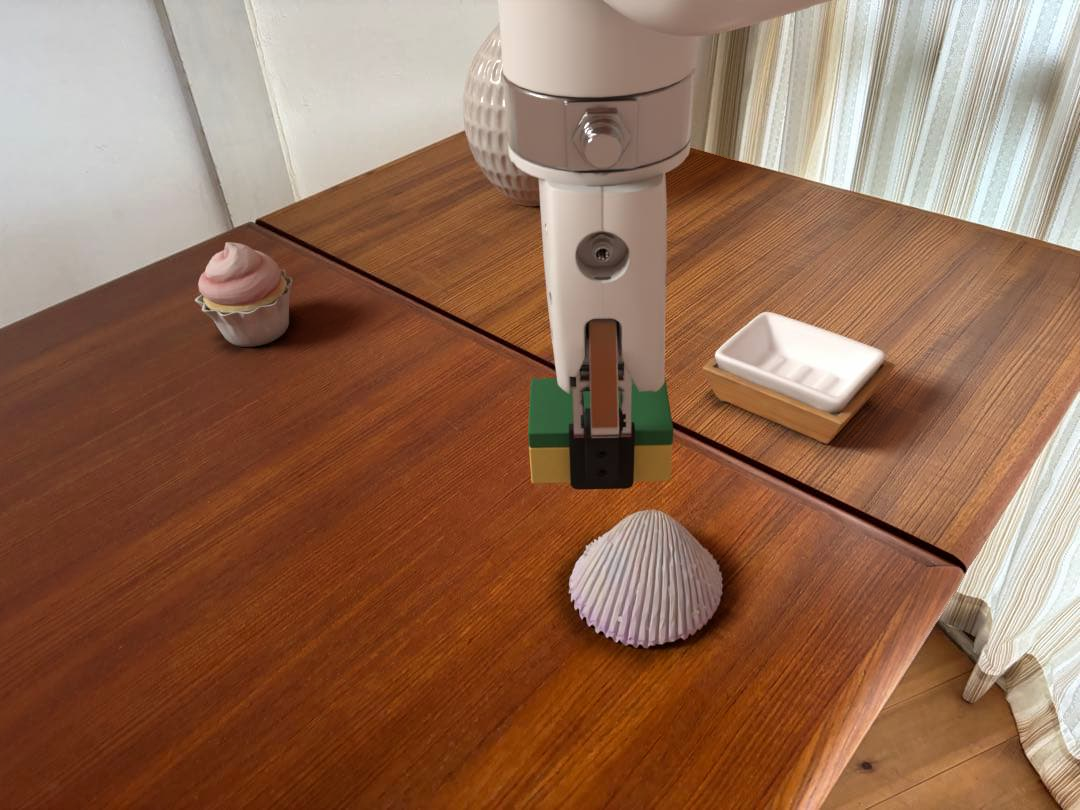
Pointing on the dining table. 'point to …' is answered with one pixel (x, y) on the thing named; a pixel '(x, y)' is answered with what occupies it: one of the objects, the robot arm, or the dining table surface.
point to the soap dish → (796, 374)
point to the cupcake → (245, 295)
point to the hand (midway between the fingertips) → (600, 447)
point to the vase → (493, 125)
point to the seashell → (646, 581)
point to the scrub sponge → (556, 410)
